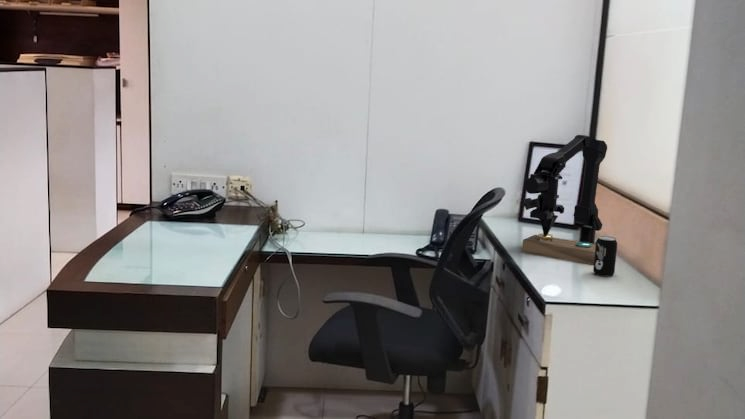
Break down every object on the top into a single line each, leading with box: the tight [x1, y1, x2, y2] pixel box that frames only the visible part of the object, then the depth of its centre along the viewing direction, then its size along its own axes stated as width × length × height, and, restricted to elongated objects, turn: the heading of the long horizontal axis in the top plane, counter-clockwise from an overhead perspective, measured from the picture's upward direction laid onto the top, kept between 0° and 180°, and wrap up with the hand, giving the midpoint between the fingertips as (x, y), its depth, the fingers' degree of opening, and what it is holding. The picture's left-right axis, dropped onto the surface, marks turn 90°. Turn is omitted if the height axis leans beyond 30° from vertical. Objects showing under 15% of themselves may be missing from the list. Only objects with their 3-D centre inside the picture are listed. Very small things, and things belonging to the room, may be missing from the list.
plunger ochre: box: [537, 232, 554, 242], centre depth 266 cm, size 5×5×5 cm
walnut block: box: [521, 234, 596, 266], centre depth 262 cm, size 12×26×4 cm, turn 57°
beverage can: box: [592, 235, 618, 277], centre depth 238 cm, size 7×7×12 cm
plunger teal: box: [576, 242, 591, 248], centre depth 258 cm, size 5×5×5 cm
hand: (545, 235), depth 265 cm, fingers closed, pressing on plunger ochre
